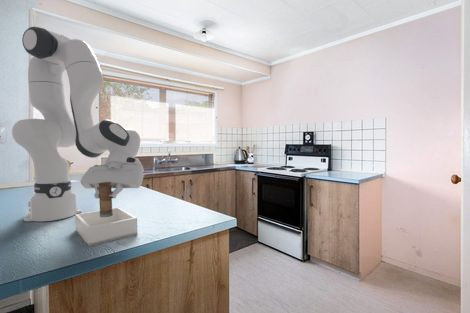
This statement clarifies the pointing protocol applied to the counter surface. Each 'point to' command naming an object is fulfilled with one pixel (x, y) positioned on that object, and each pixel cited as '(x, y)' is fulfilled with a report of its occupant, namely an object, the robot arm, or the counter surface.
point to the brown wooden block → (105, 199)
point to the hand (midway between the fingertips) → (104, 197)
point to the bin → (105, 226)
